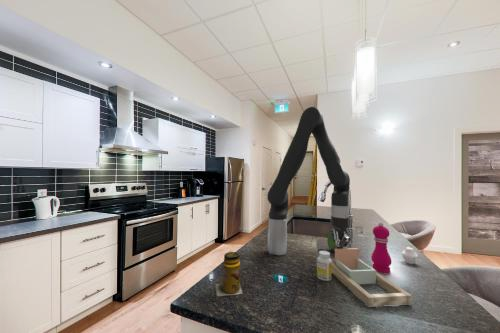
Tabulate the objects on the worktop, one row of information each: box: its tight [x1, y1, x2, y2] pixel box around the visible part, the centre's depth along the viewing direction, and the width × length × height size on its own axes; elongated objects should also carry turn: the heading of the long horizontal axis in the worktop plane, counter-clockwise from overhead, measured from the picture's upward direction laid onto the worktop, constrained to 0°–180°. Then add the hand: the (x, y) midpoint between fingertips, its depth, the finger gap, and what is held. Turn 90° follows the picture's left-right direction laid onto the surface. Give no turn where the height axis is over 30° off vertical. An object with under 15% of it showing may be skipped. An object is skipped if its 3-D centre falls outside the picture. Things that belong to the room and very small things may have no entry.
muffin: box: [401, 246, 419, 265], centre depth 95 cm, size 6×6×7 cm
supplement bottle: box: [316, 250, 333, 282], centre depth 80 cm, size 5×5×10 cm
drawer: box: [334, 247, 377, 285], centre depth 81 cm, size 10×11×9 cm
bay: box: [332, 262, 412, 307], centre depth 76 cm, size 14×25×3 cm, turn 6°
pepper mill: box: [370, 222, 393, 275], centre depth 87 cm, size 7×7×20 cm
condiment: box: [215, 251, 243, 298], centre depth 72 cm, size 7×8×12 cm
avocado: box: [326, 227, 337, 252], centre depth 109 cm, size 8×8×12 cm
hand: (339, 254), depth 92 cm, fingers closed
